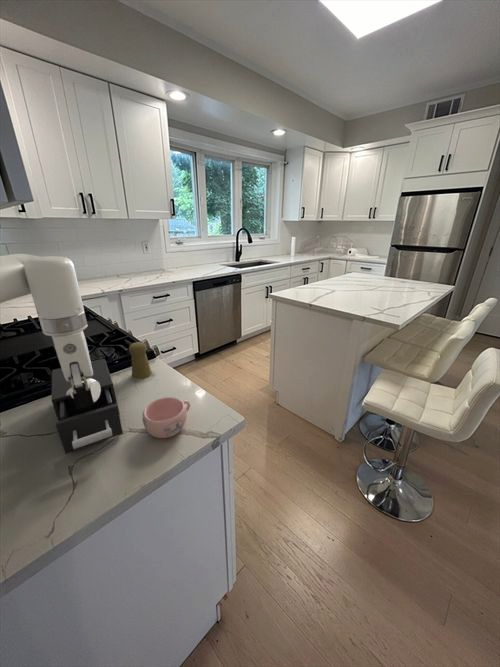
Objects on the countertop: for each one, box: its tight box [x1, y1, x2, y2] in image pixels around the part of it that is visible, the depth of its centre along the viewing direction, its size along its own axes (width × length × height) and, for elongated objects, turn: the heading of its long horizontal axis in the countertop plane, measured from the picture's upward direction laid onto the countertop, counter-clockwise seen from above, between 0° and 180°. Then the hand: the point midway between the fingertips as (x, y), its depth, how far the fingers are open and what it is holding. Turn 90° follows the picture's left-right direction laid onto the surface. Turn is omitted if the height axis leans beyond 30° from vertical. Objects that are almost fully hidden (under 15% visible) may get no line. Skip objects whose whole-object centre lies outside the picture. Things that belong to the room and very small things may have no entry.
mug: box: [142, 396, 191, 439], centre depth 67 cm, size 12×10×6 cm
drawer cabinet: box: [51, 358, 120, 421], centre depth 73 cm, size 16×13×10 cm
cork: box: [128, 341, 152, 380], centre depth 88 cm, size 6×6×11 cm
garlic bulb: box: [66, 379, 101, 402], centre depth 61 cm, size 6×6×5 cm
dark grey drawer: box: [55, 388, 124, 455], centre depth 63 cm, size 20×11×8 cm, turn 33°
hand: (84, 397), depth 61 cm, fingers closed on garlic bulb, 5 cm apart
